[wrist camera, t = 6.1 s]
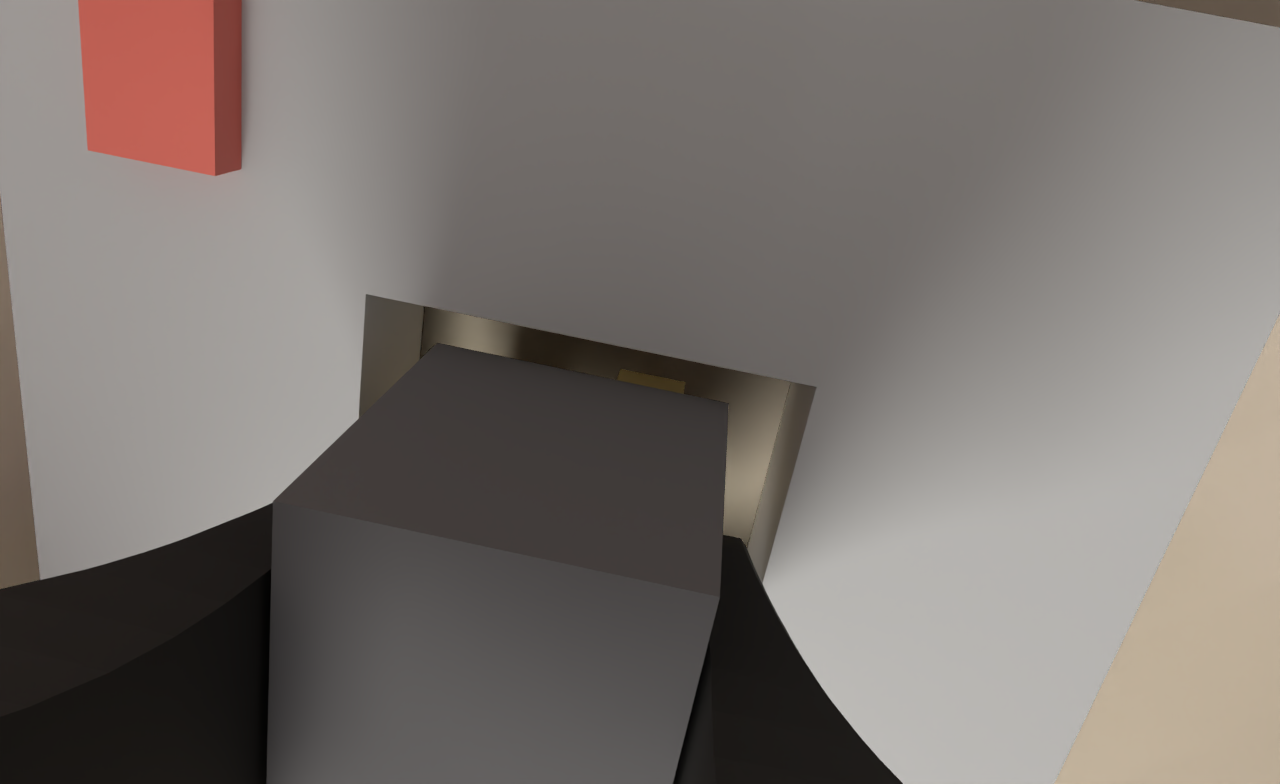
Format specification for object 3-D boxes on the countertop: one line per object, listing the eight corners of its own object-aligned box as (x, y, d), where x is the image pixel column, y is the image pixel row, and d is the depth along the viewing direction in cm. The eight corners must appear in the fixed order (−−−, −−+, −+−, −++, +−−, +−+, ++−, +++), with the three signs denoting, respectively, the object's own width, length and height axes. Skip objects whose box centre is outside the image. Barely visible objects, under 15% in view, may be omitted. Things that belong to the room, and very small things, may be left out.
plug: (679, 588, 15) (639, 917, 9) (443, 537, 15) (264, 831, 9) (730, 365, 13) (719, 597, 8) (469, 312, 13) (272, 500, 8)
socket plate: (916, 891, 18) (948, 1055, 15) (150, 717, 18) (39, 844, 16) (1275, 48, 12) (1447, 51, 9) (106, -172, 12) (-89, -236, 9)
